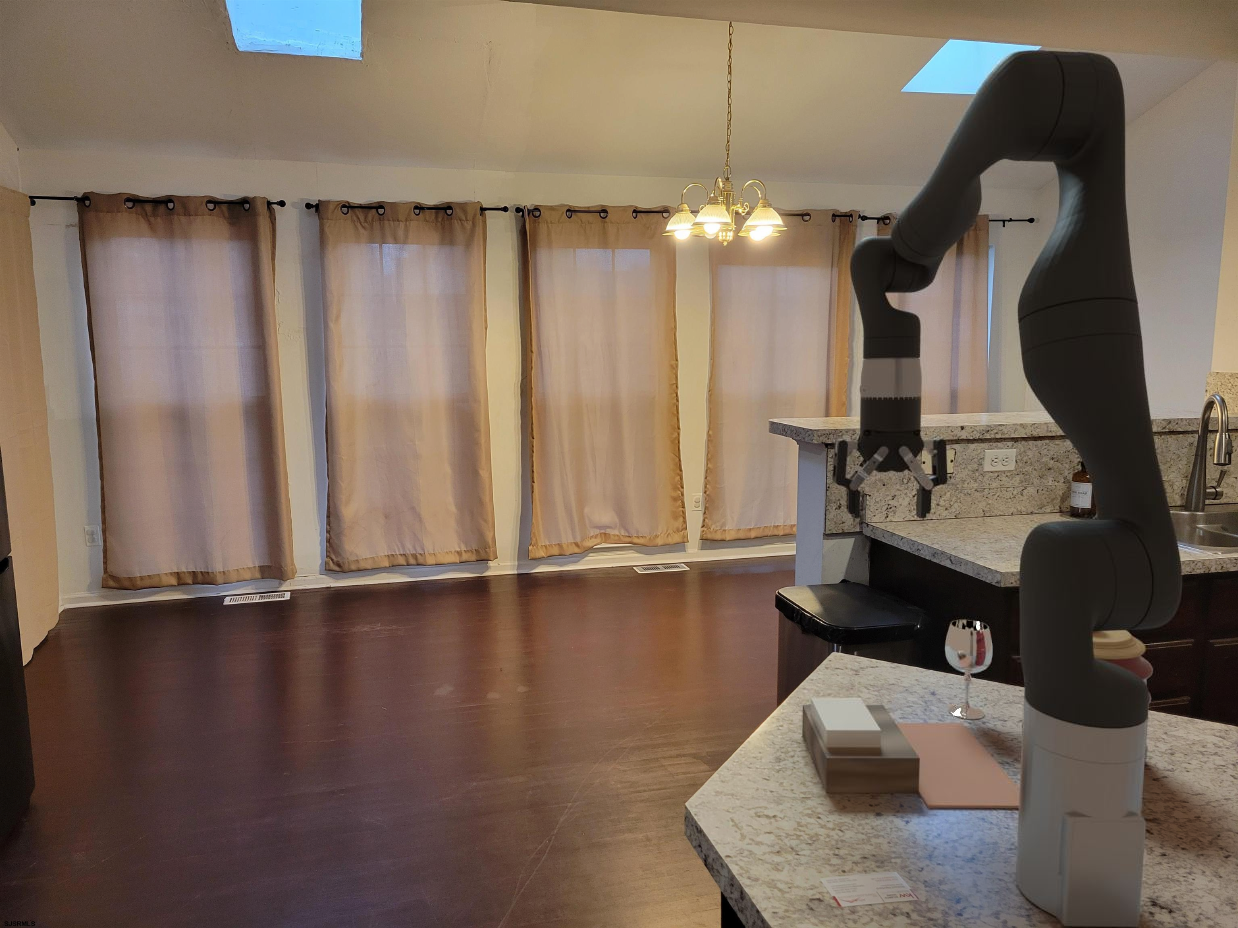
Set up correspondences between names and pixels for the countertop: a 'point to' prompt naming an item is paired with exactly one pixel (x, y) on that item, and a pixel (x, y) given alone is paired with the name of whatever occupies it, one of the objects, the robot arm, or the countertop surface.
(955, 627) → the wineglass
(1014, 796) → the mat
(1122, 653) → the canister
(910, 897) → the countertop surface
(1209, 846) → the countertop surface
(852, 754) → the block
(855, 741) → the pale grey rectangular block
